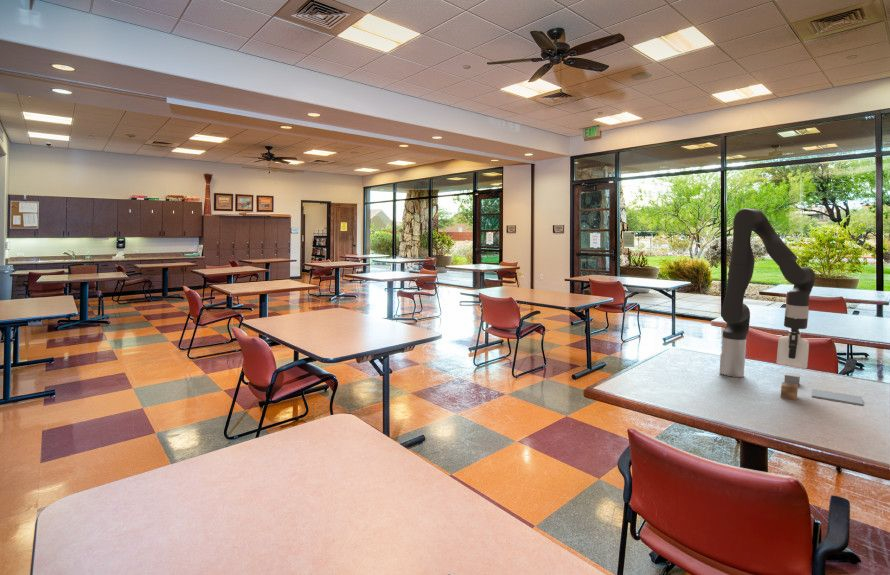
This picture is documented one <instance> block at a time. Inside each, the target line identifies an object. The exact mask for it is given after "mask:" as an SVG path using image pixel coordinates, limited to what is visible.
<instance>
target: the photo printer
mask: <svg viewBox="0 0 890 575" xmlns="http://www.w3.org/2000/svg"><path fill="white" fill-rule="evenodd" d="M788 338H789V336H788V335H783V336H780V337H779V338H778V341H777V352H776V364H777V365H782V366H787V367H793V368H799V369H804V370H806V369H807V368H808V363H809V351H810V350H809V349H810V344H809V340H808V339H806V338H803V337H800V338H799V344H797V349H796V355H795V359H792V358H789V357H788V356H789V347H788V346H789V343H788ZM797 339H798V338H797ZM791 346H795V344H791Z"/></svg>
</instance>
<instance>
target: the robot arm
mask: <svg viewBox="0 0 890 575" xmlns="http://www.w3.org/2000/svg"><path fill="white" fill-rule="evenodd" d="M732 225H733V226H732V229H733V230H732V231H733V232H732V235H733V236H732V243H731V244H732V246H731V251H730V252H731V253H730V259H729V266H728V274H727V275H728V276H727V283H726V289H725V290H726V291H725V296H724V299H723V303H722V307H721V311H720V314H721V318H722V320H723V321H724V322H725V323H726V326H725V328H724V329H723V330H722V336H721V337H722V339H721V340H722V341H721V353H720V357H719V358H720V359H719V375H723V374H724V375H723V376H726V375H727V377H731V376H732V378H733V377H734V378H741V377H744V376H745V368H746V367H745V364H746V353H747V352H746V350H747V348H746V347H747V336H748V334H749V329H750V321H751V310H750V309H749V307H748V305H746V304H745V303H744V298H745V293H746V290H747V289H748V287H749V285H750V283H751V280H752V278H753V274H754V268H755V264H756V263H755V260H756V259H755V255H754V252H753V249H752V248H753V247H752V245H751V242H752V241H751V240H752V239H751V237H752V234H753V233H752V232H754V234H756V235H757V236H758V237H759V238H760V239H761V241H762V243H763V245H764V248H765V251H766V252H767V254H768V255H769V257H770V258H771V259H772V260H773V261H774V263H775V264H776V265H777V266H778V267H779V270H780V272H781V274H782V276H783V277H784V278H785V280H786V281H787V282H788V283H790V285H793V287H792V290H791V289H790V290H789V291H788V293H787V297H786V306H785V312H784V321H783V326H784V327H785V328H787V329H789V328H790V330H788V332H787V336H789V338H788V343H789V346H788V347H789V356H788V357H789V358H792V359H795V355H796V349H797V344H799V338H801V334H802V333H801V331H800V330H806V329H807V328H808V321H809V305H810V295H811V292H812V291H813V288H814V284H815V280H816V273H815V271H814V270H813V269H812V268H811V267H809V266H800V265H799V264H798V262H797V260H798V257H797V255H796V253H794V252H793V251H792V250H791V248H790V247H788V245H787V244H786V243H785V242H784V241H783V240H782V238H781V237H780V236H779V234H778V233H777V232H776V230H775V228H773V225H772V224H771V223H770V221H769V219H768V218H767V216H766V215H765V213H764V212H763V211H762V210H761V209H756V208H742V209H740V210H738V211H737V212H736V213H735V215H734V218H733V224H732ZM797 338H798V339H797ZM791 344H795V346H791Z"/></svg>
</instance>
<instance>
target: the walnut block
mask: <svg viewBox="0 0 890 575" xmlns="http://www.w3.org/2000/svg"><path fill="white" fill-rule="evenodd" d="M798 389H799V386H798V385H796V384H790V383H784V381H783V382H782V383H781V388H780V398H781V399H786V400H793V401H797V400H798V393H799V392H798V391H799V390H798Z"/></svg>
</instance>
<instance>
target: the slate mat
mask: <svg viewBox="0 0 890 575" xmlns="http://www.w3.org/2000/svg"><path fill="white" fill-rule="evenodd" d="M815 397H816V399H821V398H822V400H827V399H828V400H827V401H834V402H841V403H845V404H852V405H857V406H862V405H864V402H863V397H862V396H859V395H854V394H847V393H840V392H833V391H827V390H822V389H815V388H812V390H811V398H815Z"/></svg>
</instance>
